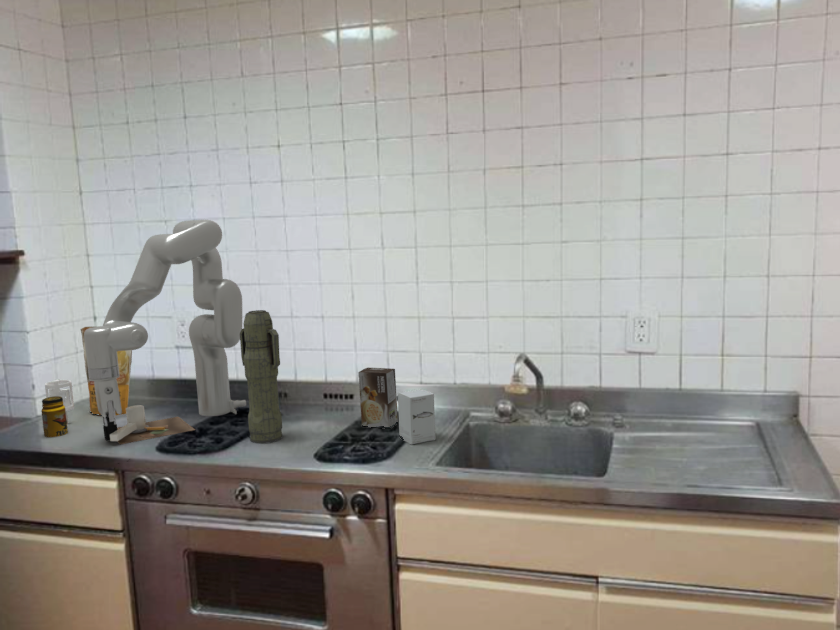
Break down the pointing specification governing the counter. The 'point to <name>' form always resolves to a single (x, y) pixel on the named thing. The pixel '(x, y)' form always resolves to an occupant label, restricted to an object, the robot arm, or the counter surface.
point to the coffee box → (378, 397)
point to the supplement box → (416, 416)
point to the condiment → (54, 417)
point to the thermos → (261, 376)
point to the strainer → (61, 393)
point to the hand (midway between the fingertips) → (111, 439)
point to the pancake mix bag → (122, 381)
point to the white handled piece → (133, 423)
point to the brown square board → (170, 425)
